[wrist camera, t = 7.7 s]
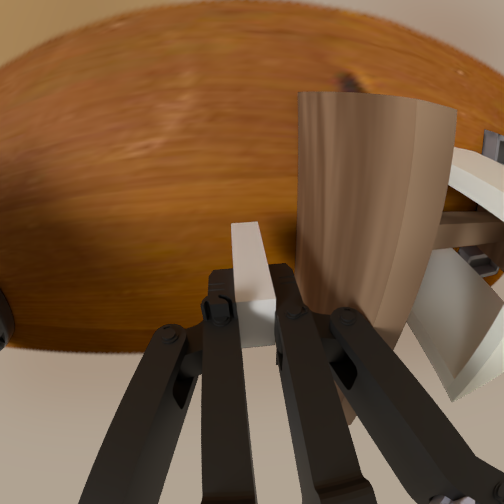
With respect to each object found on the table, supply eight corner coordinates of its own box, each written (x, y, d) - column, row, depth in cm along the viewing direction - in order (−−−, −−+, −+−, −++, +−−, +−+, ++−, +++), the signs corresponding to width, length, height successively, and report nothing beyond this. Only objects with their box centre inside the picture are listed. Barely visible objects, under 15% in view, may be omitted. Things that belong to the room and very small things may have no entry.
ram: (292, 303, 24) (327, 429, 14) (297, 92, 15) (416, 98, 5) (461, 276, 25) (519, 349, 15) (497, 129, 16) (593, 177, 6)
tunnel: (370, 267, 23) (451, 402, 11) (389, 137, 17) (555, 229, 5) (448, 257, 24) (528, 354, 12) (473, 151, 18) (594, 225, 6)
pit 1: (450, 273, 25) (459, 283, 24) (459, 247, 23) (469, 256, 22) (488, 265, 25) (496, 273, 24) (497, 242, 24) (506, 250, 22)
